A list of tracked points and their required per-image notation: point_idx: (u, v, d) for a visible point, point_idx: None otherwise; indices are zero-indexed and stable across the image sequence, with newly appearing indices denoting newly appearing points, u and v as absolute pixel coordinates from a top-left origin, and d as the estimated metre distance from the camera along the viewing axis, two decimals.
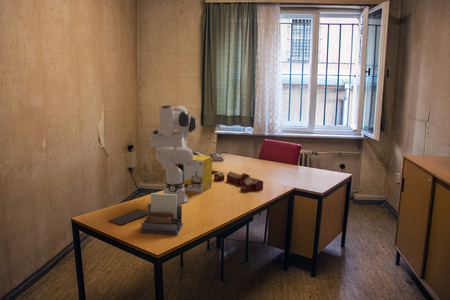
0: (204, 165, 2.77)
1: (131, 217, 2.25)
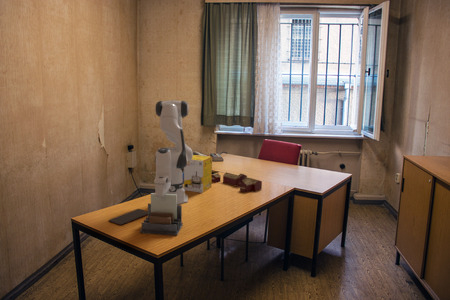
0: (204, 165, 2.77)
1: (131, 217, 2.25)
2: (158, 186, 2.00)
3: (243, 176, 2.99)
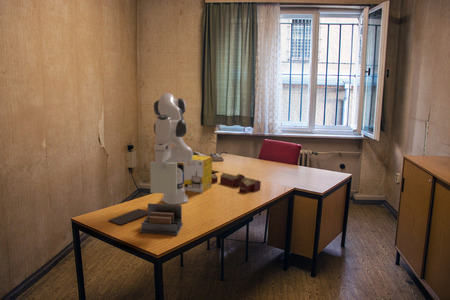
0: (204, 165, 2.77)
1: (131, 217, 2.25)
2: (158, 153, 1.97)
3: (241, 176, 2.98)
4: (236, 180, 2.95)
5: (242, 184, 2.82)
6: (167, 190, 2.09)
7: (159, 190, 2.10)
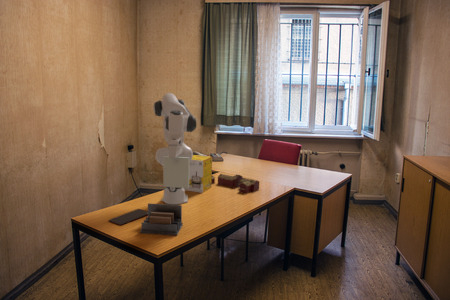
0: (204, 165, 2.77)
1: (131, 217, 2.25)
2: (171, 147, 2.01)
3: (239, 177, 2.96)
4: (234, 181, 2.94)
5: (242, 184, 2.81)
6: (180, 184, 2.14)
7: (172, 184, 2.14)
